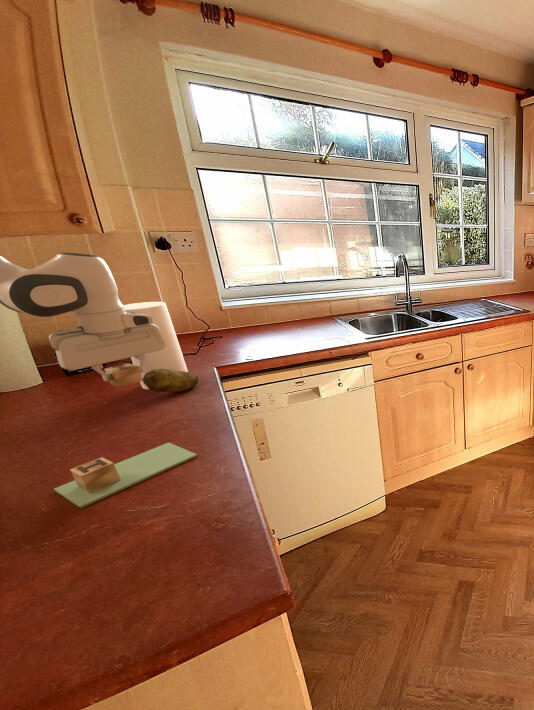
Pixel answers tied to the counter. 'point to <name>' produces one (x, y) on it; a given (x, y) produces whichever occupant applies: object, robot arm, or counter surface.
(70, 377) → the counter surface
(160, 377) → the potato
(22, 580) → the counter surface
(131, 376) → the tan boxy piece
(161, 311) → the cylinder
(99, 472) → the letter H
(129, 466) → the mat
